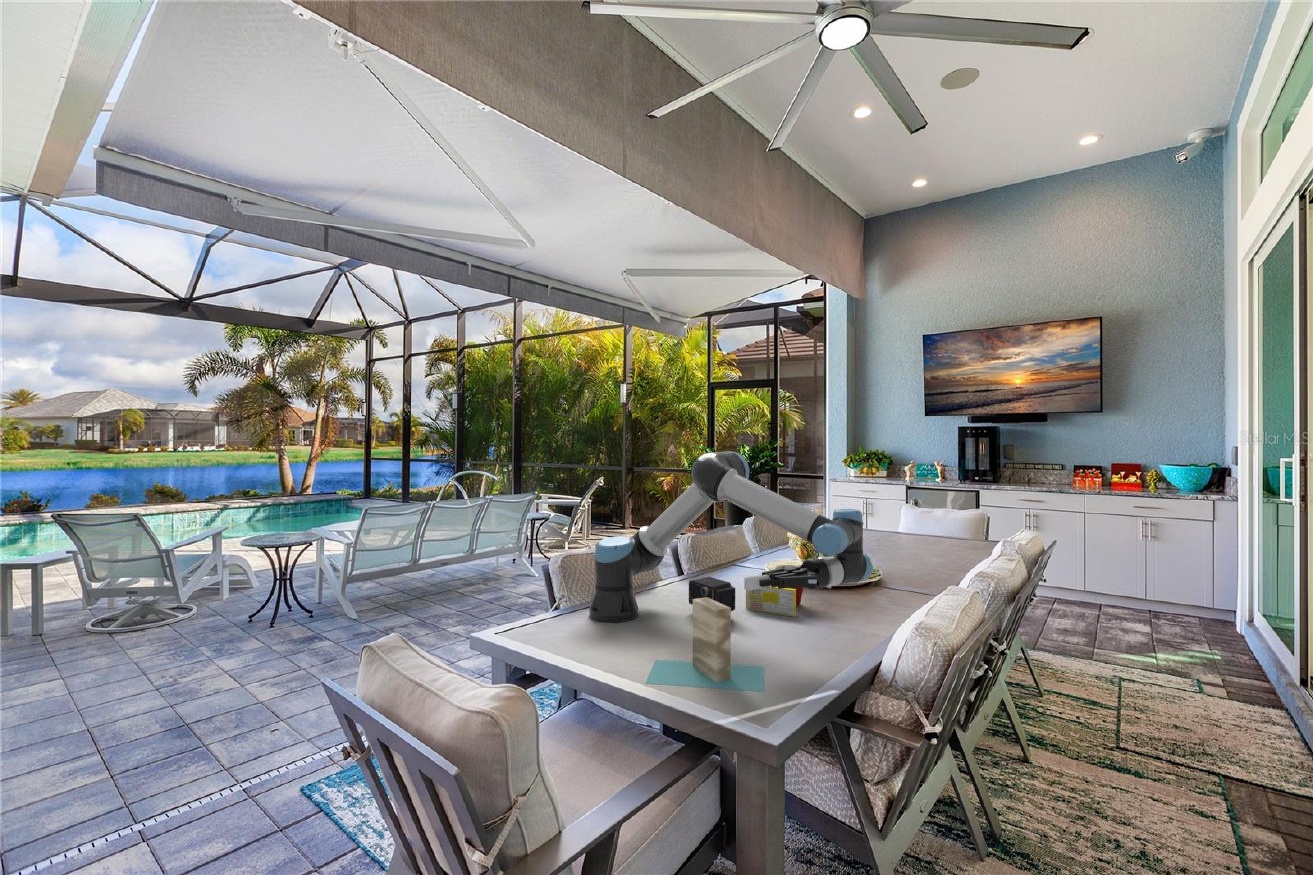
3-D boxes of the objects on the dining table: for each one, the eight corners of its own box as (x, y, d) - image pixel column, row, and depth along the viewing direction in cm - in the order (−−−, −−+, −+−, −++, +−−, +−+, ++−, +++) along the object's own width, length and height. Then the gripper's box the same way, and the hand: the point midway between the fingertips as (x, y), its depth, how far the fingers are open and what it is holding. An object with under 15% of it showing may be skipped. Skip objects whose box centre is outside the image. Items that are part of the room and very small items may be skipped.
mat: (645, 686, 131) (645, 683, 131) (655, 662, 144) (655, 659, 144) (764, 694, 126) (764, 691, 126) (763, 668, 140) (763, 666, 140)
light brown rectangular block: (715, 681, 131) (715, 610, 131) (692, 666, 140) (692, 599, 140) (730, 678, 133) (730, 607, 133) (706, 663, 142) (706, 597, 142)
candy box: (796, 615, 182) (796, 588, 182) (794, 617, 180) (794, 590, 180) (748, 607, 191) (748, 581, 191) (745, 609, 189) (745, 583, 189)
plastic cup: (787, 611, 186) (787, 573, 186) (768, 602, 196) (768, 566, 196) (815, 607, 191) (815, 570, 191) (794, 598, 201) (794, 563, 200)
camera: (684, 617, 184) (717, 624, 172) (682, 580, 185) (714, 585, 173) (710, 610, 190) (743, 617, 178) (707, 575, 191) (740, 579, 179)
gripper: (839, 593, 146) (763, 606, 135) (803, 582, 157) (730, 593, 147) (839, 562, 146) (762, 573, 135) (803, 554, 157) (730, 563, 147)
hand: (746, 584), depth 141 cm, fingers closed
